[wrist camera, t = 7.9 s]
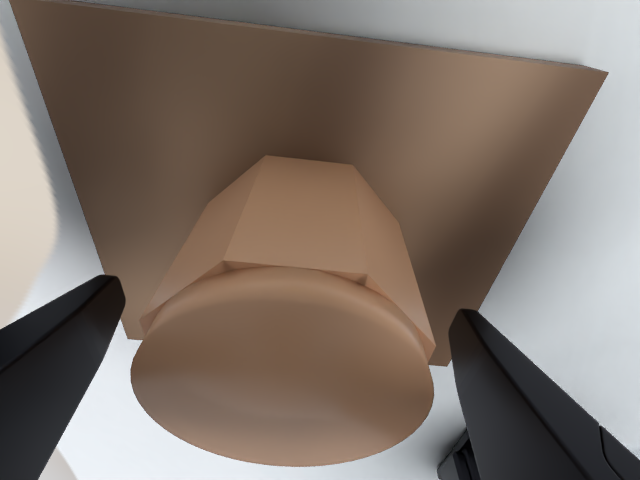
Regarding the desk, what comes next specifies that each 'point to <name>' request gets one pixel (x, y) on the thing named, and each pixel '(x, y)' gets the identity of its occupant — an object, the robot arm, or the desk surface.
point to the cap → (289, 323)
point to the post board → (297, 134)
